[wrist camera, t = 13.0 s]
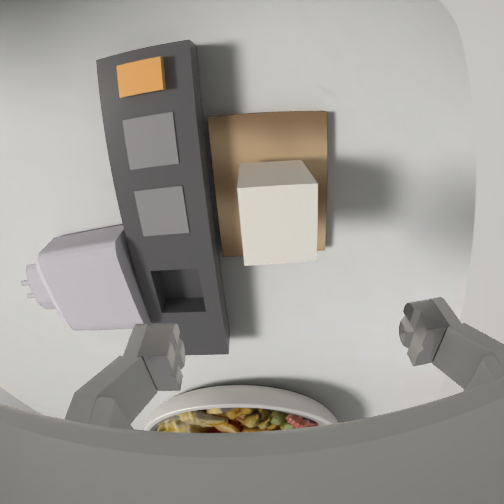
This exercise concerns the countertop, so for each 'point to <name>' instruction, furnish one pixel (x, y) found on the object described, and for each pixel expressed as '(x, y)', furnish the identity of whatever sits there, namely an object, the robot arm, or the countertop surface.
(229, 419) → the bowl
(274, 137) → the cork mat
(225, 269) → the countertop surface
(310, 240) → the charger
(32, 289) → the charger
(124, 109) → the power strip
